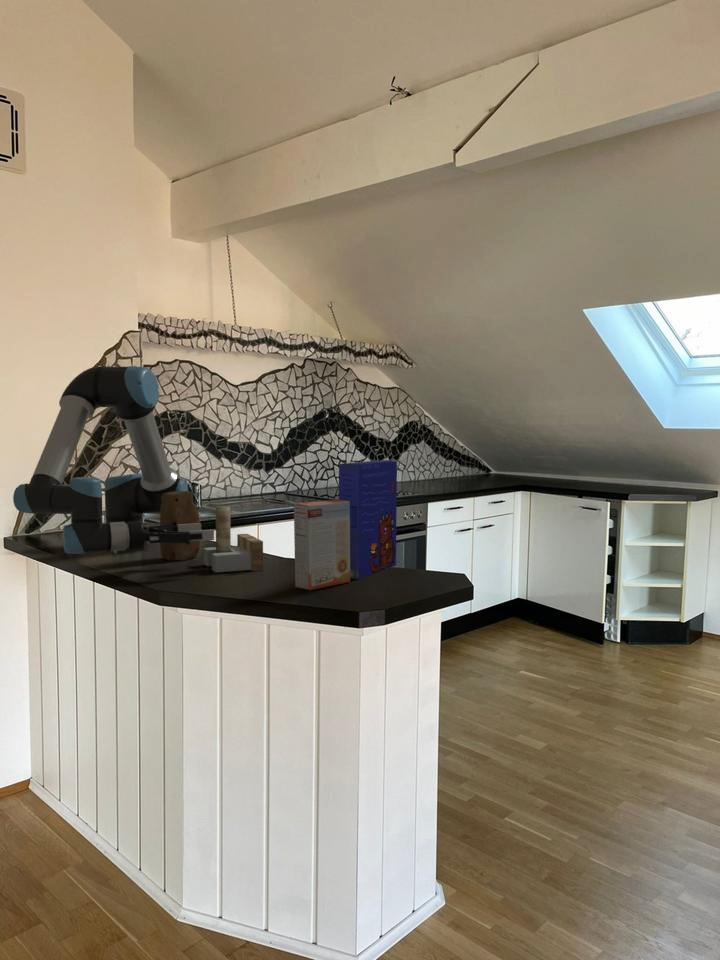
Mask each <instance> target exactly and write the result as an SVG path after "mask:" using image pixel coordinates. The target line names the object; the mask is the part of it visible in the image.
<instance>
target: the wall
mask: <svg viewBox="0 0 720 960" xmlns="http://www.w3.org/2000/svg"><path fill="white" fill-rule="evenodd" d="M236 538H237V541H236V542H237V545H236V546H240V547H241V548H243V549H245V550H247V551H249V552H250V553H252V570H251V571H252V572H257V571H264V541H263V540H261V539H260V538H256V537H255V536H254V535H251V534H249V533H238V534H237V537H236Z"/></svg>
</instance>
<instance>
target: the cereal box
mask: <svg viewBox="0 0 720 960" xmlns="http://www.w3.org/2000/svg"><path fill="white" fill-rule="evenodd" d="M397 474H398V460H391V459H386V460H385V459H384V460H382V459H381V460H380V459H379V460H370V461H369V460H368V461H367V460H366V461H357V462H347V463H339V464H338V500H343V501H349V502H350V580H362V579H364V578H366V577H369V576H371V575H375V574H377V572H378V573H380V572H383V571H385V570H384V569H385V568H381V567H386V568H388V569H390V568H393V567H395V566H397V508H398V507H397V504H398V503H397V502H398V501H397V498H398V497H397V495H398V494H397V493H398V490H397V489H398V487H397V486H398V485H397V483H398V482H397V481H398V477H397V476H398V475H397ZM379 571H380V572H379Z"/></svg>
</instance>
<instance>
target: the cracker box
mask: <svg viewBox="0 0 720 960" xmlns="http://www.w3.org/2000/svg"><path fill="white" fill-rule="evenodd" d="M293 526H294V527H293V529H294V530H293V531H294V533H293V534H294V585H295V586H294V587H295V588H297V589H302V590H306V591H314V590H319V589H322V588H323V589H324V588H327V587H333V586H337V585H342V584H346V583H350V582H351V579H350V502H349V501H343V500H339V499H332V500H331V499H329V500H319V501H309V502H301V503H295V504H293Z"/></svg>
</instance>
